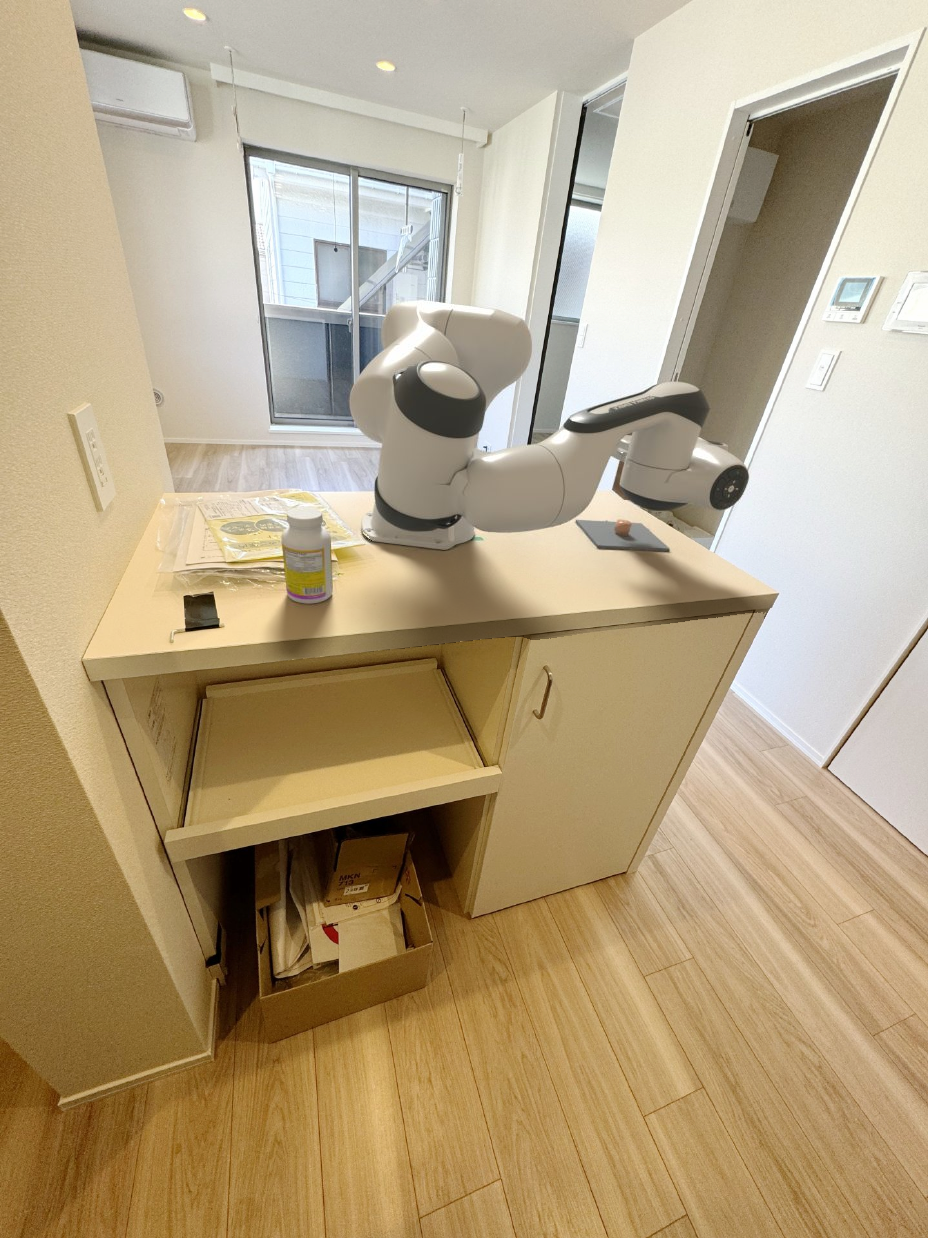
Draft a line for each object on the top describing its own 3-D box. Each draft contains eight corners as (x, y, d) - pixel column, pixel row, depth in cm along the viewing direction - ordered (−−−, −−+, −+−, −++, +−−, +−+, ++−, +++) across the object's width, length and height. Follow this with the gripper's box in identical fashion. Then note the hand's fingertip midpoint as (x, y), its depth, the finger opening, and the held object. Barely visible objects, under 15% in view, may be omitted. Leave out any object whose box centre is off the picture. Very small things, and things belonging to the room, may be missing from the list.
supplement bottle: (305, 579, 79) (299, 500, 73) (341, 590, 78) (339, 510, 71) (276, 598, 74) (268, 514, 67) (315, 610, 72) (310, 525, 66)
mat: (597, 547, 103) (597, 545, 103) (575, 522, 115) (576, 519, 115) (668, 551, 106) (669, 548, 106) (640, 525, 118) (641, 523, 117)
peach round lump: (617, 536, 109) (620, 524, 107) (611, 530, 111) (614, 519, 110) (630, 536, 109) (634, 525, 108) (624, 530, 112) (628, 519, 110)
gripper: (619, 473, 89) (592, 453, 101) (723, 481, 93) (685, 460, 104) (629, 436, 86) (600, 419, 97) (737, 445, 89) (696, 428, 101)
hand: (645, 440), depth 101 cm, fingers closed on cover, 6 cm apart
